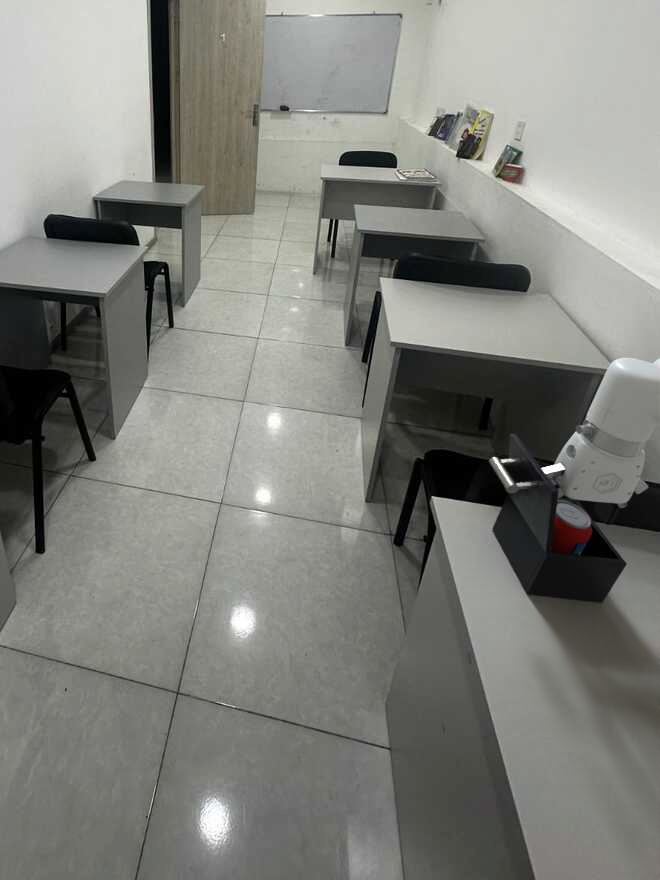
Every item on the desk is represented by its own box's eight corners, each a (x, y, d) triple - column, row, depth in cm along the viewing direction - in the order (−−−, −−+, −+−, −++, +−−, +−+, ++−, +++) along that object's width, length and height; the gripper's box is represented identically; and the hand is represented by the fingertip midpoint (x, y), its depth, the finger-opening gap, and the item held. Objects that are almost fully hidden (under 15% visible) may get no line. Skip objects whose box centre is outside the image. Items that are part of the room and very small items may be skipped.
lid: (515, 433, 82) (480, 436, 83) (558, 491, 71) (518, 494, 71) (511, 490, 87) (478, 493, 88) (551, 553, 76) (513, 555, 76)
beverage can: (574, 585, 81) (603, 536, 76) (529, 571, 83) (554, 522, 78) (562, 551, 87) (588, 504, 82) (520, 538, 89) (543, 491, 84)
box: (557, 536, 91) (577, 499, 87) (602, 603, 79) (627, 564, 76) (491, 529, 91) (508, 492, 87) (526, 594, 80) (547, 555, 76)
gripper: (569, 447, 70) (531, 529, 77) (691, 458, 70) (642, 540, 76) (540, 414, 77) (508, 492, 84) (650, 423, 77) (609, 501, 83)
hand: (572, 515), depth 80 cm, fingers open, 9 cm apart
